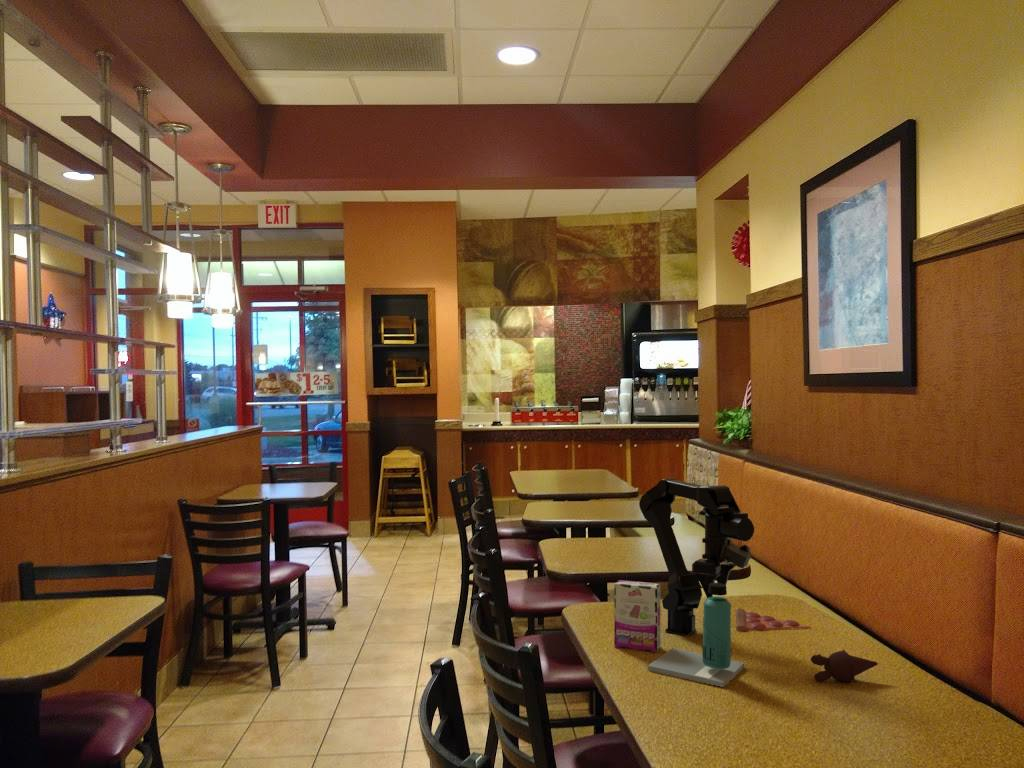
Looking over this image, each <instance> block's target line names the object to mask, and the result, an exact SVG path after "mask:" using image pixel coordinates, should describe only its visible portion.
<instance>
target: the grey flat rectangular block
mask: <svg viewBox="0 0 1024 768" xmlns="http://www.w3.org/2000/svg"><path fill="white" fill-rule="evenodd" d="M702 660H703V653H699V652H694V651H688V650H684V649H681V648H675V647H674V648H671V649H669V650H668V651H667V652H665V653H663V654H662V655H661V656H660V657H657V659H655V660H653V661H652V662H650V664H648V665H647V671H648V672H653V673H656V674H661V675H665V676H669V675H670V677H674V676H675V677H674V678H678V677H679V678H678V679H682V678H684V680H687V679H689V680H688V681H691V680H693V681H692V682H695V681H697V683H700V682H702V683H701V684H704V683H706V684H705V685H708V684H711V685H710V686H713V685H716V686H715V687H717V686H720V687H719V688H721V687H724V686H725V685H726V684H727V683H728V682H729V681H730V680H731V681H732V680H733V679H735V678H736V677H737V676H738V675H739V674H740V673H741V672H742V671H743V670H744V669H745V662H742V661H737V660H732V659H731V661H730V663H731V664H730V666H729V667H728V668H726V669H715V668H710V667H707V666H705V665H704V664H703V661H702ZM743 668H744V669H743ZM741 670H742V671H741ZM740 671H741V672H740ZM739 672H740V673H739ZM738 673H739V674H738ZM737 674H738V675H737ZM736 675H737V676H736ZM731 681H730V682H731ZM730 682H729V683H730ZM729 683H728V684H729ZM728 684H727V685H728ZM727 685H726V686H727ZM726 686H725V687H726ZM725 687H724V688H725Z"/></svg>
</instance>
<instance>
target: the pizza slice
mask: <svg viewBox="0 0 1024 768" xmlns="http://www.w3.org/2000/svg"><path fill="white" fill-rule="evenodd" d="M791 628H811V629H812V627H811V625H808V624H804V623H803V624H802V623H799V622H798V621H796V620H793V619H787V620H784V619H779V618H775V617H773V616H770V615H760V614H759V613H757V612H755V611H754V612H753V611H750V612H747V611H746V610H745V609H744V608H740V607H738V608H737V609H736V611H735V630H736V631H737V632H750V631H749V630H752V631H751V632H753V631H754V630H757V631H775V630H774V629H785V630H792V629H791Z"/></svg>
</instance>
